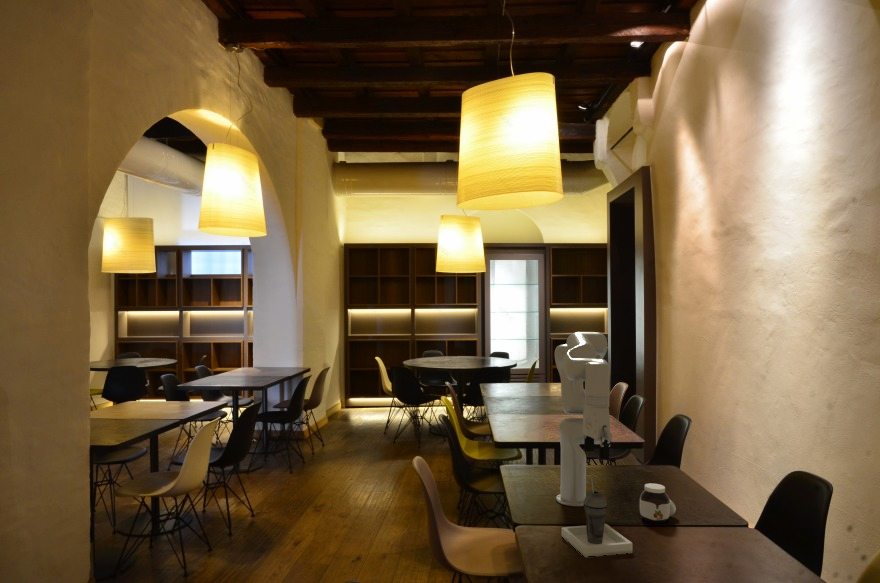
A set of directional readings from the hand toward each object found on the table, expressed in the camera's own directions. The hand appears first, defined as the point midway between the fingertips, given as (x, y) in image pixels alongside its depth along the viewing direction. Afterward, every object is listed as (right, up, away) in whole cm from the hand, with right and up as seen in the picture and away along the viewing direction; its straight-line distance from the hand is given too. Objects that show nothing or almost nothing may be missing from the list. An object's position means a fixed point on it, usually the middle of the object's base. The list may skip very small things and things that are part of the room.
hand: (596, 455), depth 188 cm
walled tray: (0, -28, -1) cm, 28 cm away
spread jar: (+28, -29, +23) cm, 47 cm away
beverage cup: (-1, -27, 0) cm, 27 cm away
